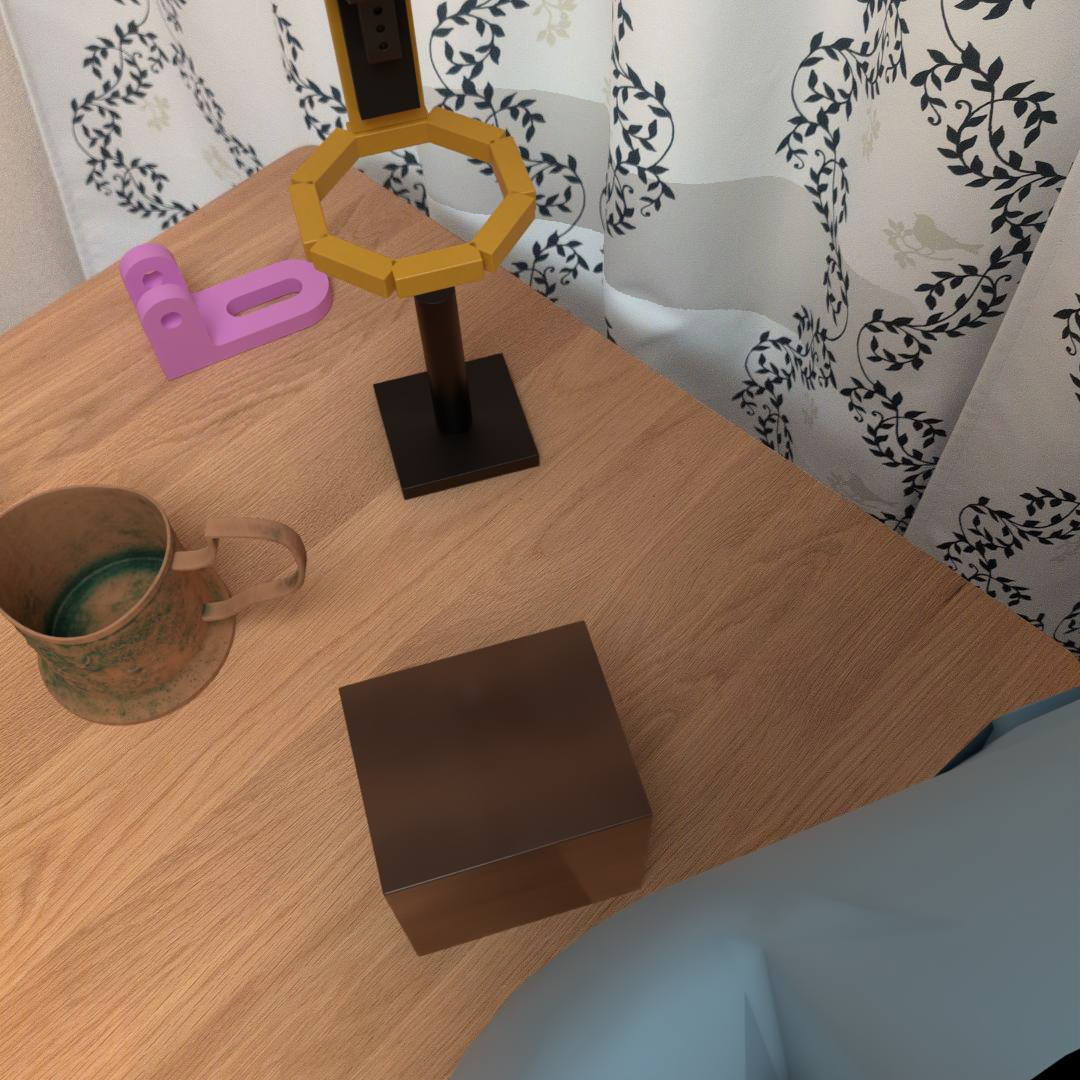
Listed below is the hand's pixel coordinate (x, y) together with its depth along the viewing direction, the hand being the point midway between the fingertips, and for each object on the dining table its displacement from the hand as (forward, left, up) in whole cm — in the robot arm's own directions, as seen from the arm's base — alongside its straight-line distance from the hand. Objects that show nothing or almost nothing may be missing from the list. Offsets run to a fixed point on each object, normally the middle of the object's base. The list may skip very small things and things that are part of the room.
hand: (385, 97), depth 52 cm
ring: (-5, 0, -3) cm, 5 cm away
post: (+2, -1, -27) cm, 27 cm away
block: (-25, +3, -27) cm, 37 cm away
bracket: (+16, +11, -27) cm, 33 cm away
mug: (-8, +18, -27) cm, 34 cm away
